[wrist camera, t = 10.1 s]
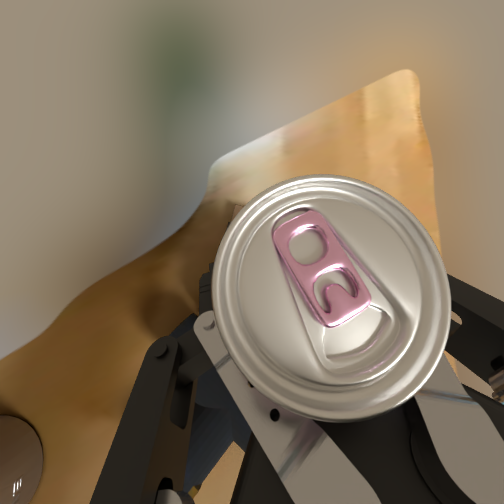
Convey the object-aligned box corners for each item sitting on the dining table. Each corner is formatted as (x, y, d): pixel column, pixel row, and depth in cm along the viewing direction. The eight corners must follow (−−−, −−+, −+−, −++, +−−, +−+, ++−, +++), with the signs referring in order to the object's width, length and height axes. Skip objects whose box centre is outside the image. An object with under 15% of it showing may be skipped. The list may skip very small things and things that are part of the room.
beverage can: (274, 246, 20) (366, 131, 5) (302, 297, 19) (514, 338, 4) (224, 273, 19) (158, 230, 4) (251, 326, 18) (288, 506, 3)
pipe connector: (222, 612, 12) (70, 443, 13) (227, 514, 17) (117, 399, 19) (324, 451, 14) (184, 317, 15) (302, 407, 19) (198, 310, 21)
